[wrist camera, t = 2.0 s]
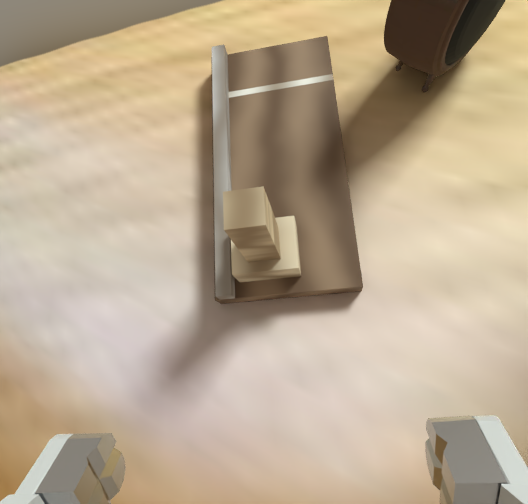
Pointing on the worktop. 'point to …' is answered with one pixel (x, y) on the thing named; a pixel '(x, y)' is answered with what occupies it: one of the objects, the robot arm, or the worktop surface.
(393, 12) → the alarm clock
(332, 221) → the walnut board
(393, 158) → the worktop surface
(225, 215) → the stacked beige blocks
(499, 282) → the worktop surface
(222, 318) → the worktop surface
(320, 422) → the worktop surface
